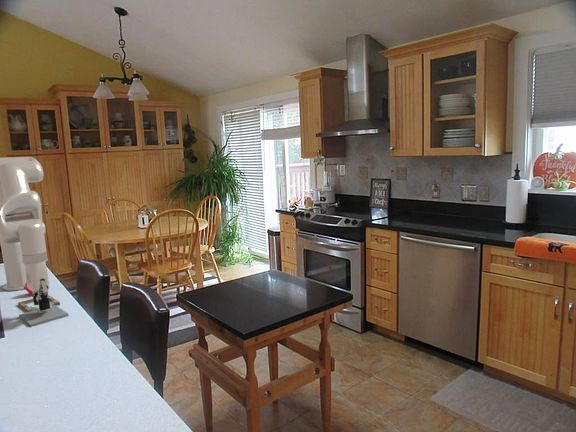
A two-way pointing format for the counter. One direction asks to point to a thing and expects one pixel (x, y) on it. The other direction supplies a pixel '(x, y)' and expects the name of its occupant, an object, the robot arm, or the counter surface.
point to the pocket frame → (25, 307)
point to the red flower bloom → (28, 289)
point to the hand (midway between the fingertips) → (42, 307)
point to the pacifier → (36, 307)
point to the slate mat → (43, 316)
